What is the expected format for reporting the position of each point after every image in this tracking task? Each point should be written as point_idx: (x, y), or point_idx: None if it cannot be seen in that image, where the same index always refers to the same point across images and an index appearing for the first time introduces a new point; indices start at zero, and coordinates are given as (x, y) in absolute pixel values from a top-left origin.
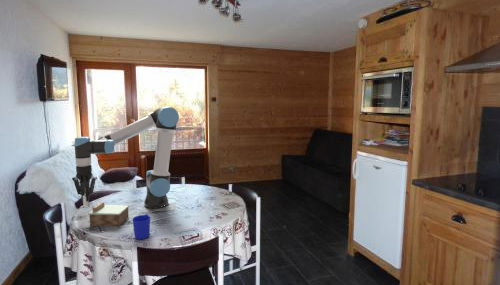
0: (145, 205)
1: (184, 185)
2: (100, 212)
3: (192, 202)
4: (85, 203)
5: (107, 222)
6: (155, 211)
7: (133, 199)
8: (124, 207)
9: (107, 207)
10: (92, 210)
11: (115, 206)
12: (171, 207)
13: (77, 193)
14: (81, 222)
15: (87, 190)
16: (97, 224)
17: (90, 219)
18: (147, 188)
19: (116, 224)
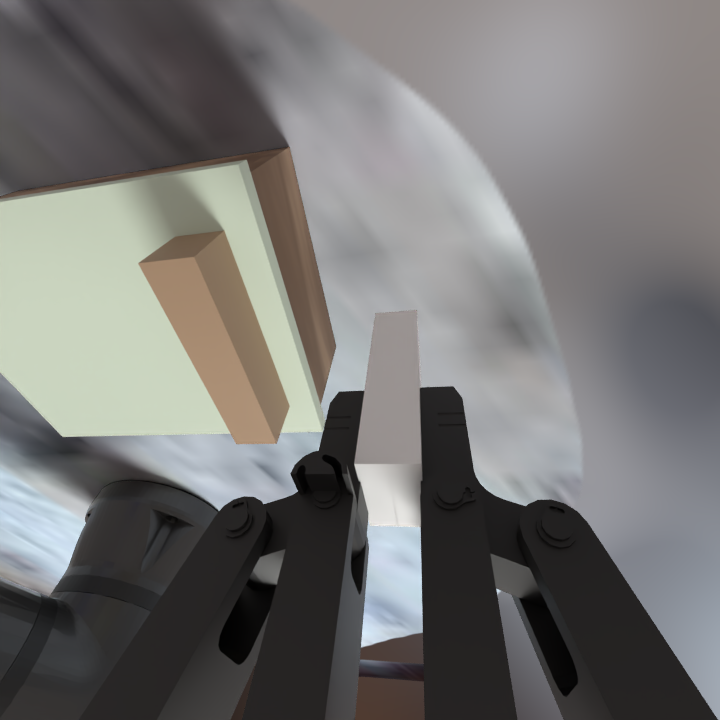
0: (182, 501)
1: None
2: (100, 223)
3: (38, 533)
4: (376, 348)
5: (95, 183)
6: (77, 449)
7: None
8: (39, 395)
9: (190, 381)
10: (270, 277)
11: (143, 409)
12: (60, 491)
13: (590, 528)
14: (433, 208)
15: (268, 625)
16: (207, 162)
17: (258, 160)
18: (115, 628)
19: (30, 191)
